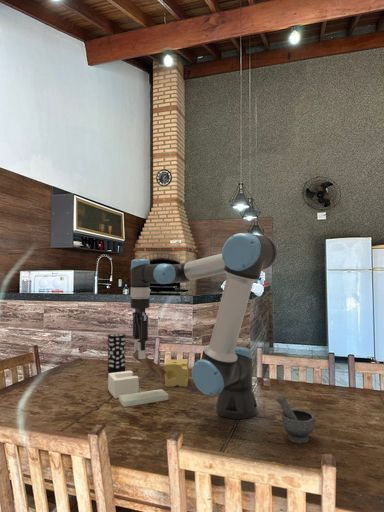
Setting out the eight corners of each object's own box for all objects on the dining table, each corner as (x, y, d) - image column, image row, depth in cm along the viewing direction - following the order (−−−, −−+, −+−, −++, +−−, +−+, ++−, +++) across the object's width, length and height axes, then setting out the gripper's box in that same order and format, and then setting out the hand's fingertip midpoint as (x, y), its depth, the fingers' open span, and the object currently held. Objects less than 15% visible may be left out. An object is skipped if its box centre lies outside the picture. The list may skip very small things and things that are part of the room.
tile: (157, 374, 150) (162, 368, 151) (162, 378, 146) (166, 371, 146) (132, 355, 146) (136, 349, 147) (135, 358, 141) (140, 352, 142)
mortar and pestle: (317, 435, 113) (317, 396, 113) (312, 448, 104) (311, 406, 105) (281, 428, 118) (281, 390, 119) (273, 440, 110) (272, 399, 110)
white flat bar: (168, 399, 145) (168, 394, 145) (123, 407, 137) (123, 401, 137) (161, 394, 152) (161, 389, 152) (119, 400, 144) (119, 395, 144)
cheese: (188, 387, 161) (187, 364, 161) (163, 387, 161) (163, 364, 161) (188, 380, 171) (188, 358, 171) (165, 380, 171) (165, 358, 172)
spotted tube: (107, 374, 180) (107, 334, 181) (124, 373, 183) (124, 333, 184) (108, 379, 172) (108, 336, 173) (126, 377, 175) (126, 335, 176)
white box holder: (130, 386, 162) (130, 370, 162) (138, 394, 151) (138, 377, 151) (108, 389, 157) (108, 373, 158) (114, 398, 147) (114, 380, 147)
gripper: (156, 299, 139) (156, 361, 138) (142, 296, 155) (142, 351, 154) (137, 300, 136) (137, 363, 135) (125, 296, 152) (124, 353, 151)
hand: (139, 356), depth 145 cm, fingers closed on tile, 5 cm apart
